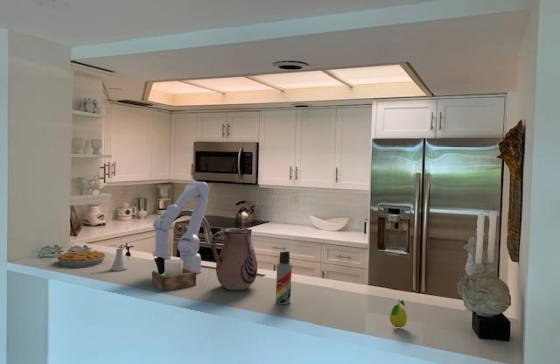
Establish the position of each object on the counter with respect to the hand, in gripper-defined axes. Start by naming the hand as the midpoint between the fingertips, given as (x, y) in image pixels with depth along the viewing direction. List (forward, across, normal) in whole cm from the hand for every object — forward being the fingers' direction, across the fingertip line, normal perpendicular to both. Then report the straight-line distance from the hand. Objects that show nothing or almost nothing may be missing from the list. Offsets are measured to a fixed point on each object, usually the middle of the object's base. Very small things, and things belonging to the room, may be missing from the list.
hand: (161, 273), depth 196 cm
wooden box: (+2, +13, 0) cm, 13 cm away
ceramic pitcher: (+2, +32, +18) cm, 36 cm away
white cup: (+2, +12, 0) cm, 12 cm away
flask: (+2, -25, -10) cm, 27 cm away
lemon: (+2, +100, +39) cm, 107 cm away
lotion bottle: (+2, +58, +24) cm, 62 cm away
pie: (+2, -48, -21) cm, 52 cm away
